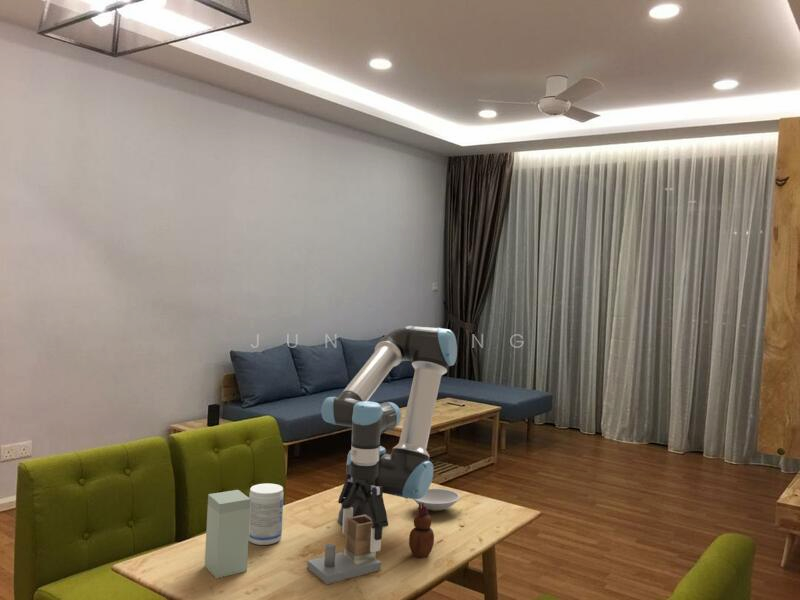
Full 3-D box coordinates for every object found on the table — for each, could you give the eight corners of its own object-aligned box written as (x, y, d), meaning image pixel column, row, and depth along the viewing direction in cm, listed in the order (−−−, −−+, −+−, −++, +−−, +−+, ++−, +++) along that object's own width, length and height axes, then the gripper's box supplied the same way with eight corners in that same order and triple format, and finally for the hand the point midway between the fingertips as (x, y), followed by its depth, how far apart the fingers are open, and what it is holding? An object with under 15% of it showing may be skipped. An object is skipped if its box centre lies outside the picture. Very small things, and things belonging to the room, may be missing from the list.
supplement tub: (286, 542, 178) (289, 491, 178) (254, 548, 173) (257, 495, 173) (273, 530, 187) (276, 481, 186) (242, 536, 181) (244, 485, 181)
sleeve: (363, 550, 171) (365, 514, 171) (375, 559, 166) (377, 521, 166) (344, 555, 168) (346, 518, 167) (356, 564, 163) (358, 525, 163)
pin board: (359, 555, 173) (361, 529, 173) (380, 569, 165) (381, 543, 165) (307, 568, 163) (308, 541, 163) (326, 584, 155) (328, 556, 155)
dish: (441, 499, 222) (442, 485, 222) (469, 513, 210) (470, 498, 210) (401, 507, 212) (402, 492, 212) (427, 522, 200) (428, 506, 200)
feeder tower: (235, 558, 167) (239, 489, 166) (248, 570, 160) (251, 498, 160) (204, 565, 162) (208, 494, 161) (215, 578, 155) (219, 504, 155)
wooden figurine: (415, 561, 171) (418, 506, 171) (405, 552, 177) (408, 499, 176) (436, 557, 175) (439, 503, 174) (426, 549, 180) (429, 496, 179)
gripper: (328, 451, 174) (324, 527, 175) (379, 477, 154) (375, 563, 155) (351, 448, 178) (347, 522, 179) (404, 473, 158) (400, 556, 159)
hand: (360, 541), depth 167 cm, fingers open, 13 cm apart
